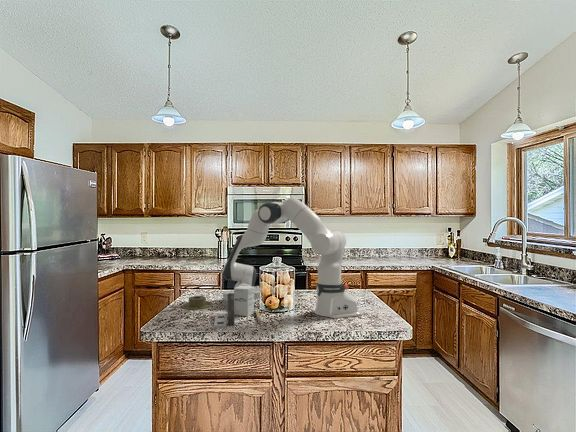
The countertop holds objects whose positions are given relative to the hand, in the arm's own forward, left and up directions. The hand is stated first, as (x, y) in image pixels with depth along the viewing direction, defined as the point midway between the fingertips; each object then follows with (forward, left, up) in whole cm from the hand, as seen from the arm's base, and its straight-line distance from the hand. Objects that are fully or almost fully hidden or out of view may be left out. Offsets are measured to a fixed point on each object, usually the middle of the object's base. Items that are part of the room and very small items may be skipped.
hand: (243, 298), depth 174 cm
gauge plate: (+11, +18, -6) cm, 21 cm away
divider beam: (0, +13, -6) cm, 14 cm away
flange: (+23, -13, -7) cm, 27 cm away
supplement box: (0, +6, -6) cm, 9 cm away
